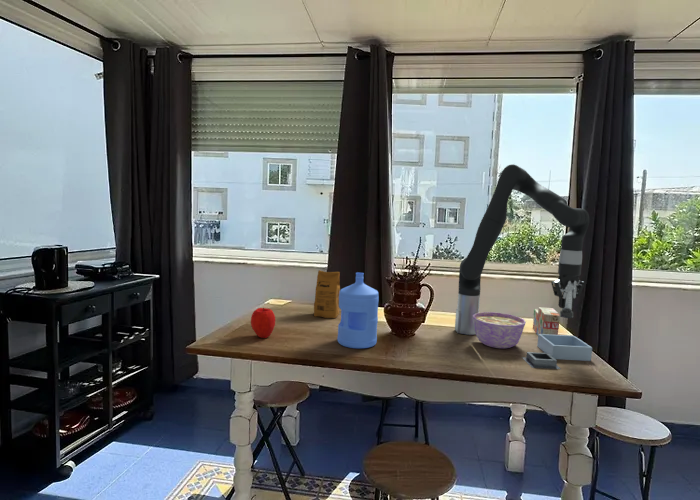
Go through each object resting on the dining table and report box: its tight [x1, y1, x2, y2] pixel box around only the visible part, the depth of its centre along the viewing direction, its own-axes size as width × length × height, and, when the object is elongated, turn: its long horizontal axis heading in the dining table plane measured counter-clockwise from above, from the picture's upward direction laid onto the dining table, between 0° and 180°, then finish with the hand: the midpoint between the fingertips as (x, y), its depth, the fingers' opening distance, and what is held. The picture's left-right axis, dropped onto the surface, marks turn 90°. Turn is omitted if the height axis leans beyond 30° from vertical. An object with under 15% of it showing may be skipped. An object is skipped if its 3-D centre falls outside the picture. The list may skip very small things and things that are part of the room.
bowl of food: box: [473, 311, 527, 349], centre depth 172 cm, size 20×20×12 cm
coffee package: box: [313, 269, 341, 319], centre depth 208 cm, size 10×12×22 cm
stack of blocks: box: [532, 306, 561, 336], centre depth 190 cm, size 21×6×12 cm, turn 167°
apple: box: [250, 307, 276, 339], centre depth 173 cm, size 10×10×12 cm
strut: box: [559, 283, 574, 319], centre depth 161 cm, size 4×4×14 cm
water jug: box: [337, 271, 379, 350], centre depth 169 cm, size 16×16×28 cm
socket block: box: [521, 351, 562, 370], centre depth 153 cm, size 10×10×4 cm
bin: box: [536, 334, 593, 362], centre depth 165 cm, size 14×14×6 cm
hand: (565, 307), depth 162 cm, fingers closed on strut, 3 cm apart
